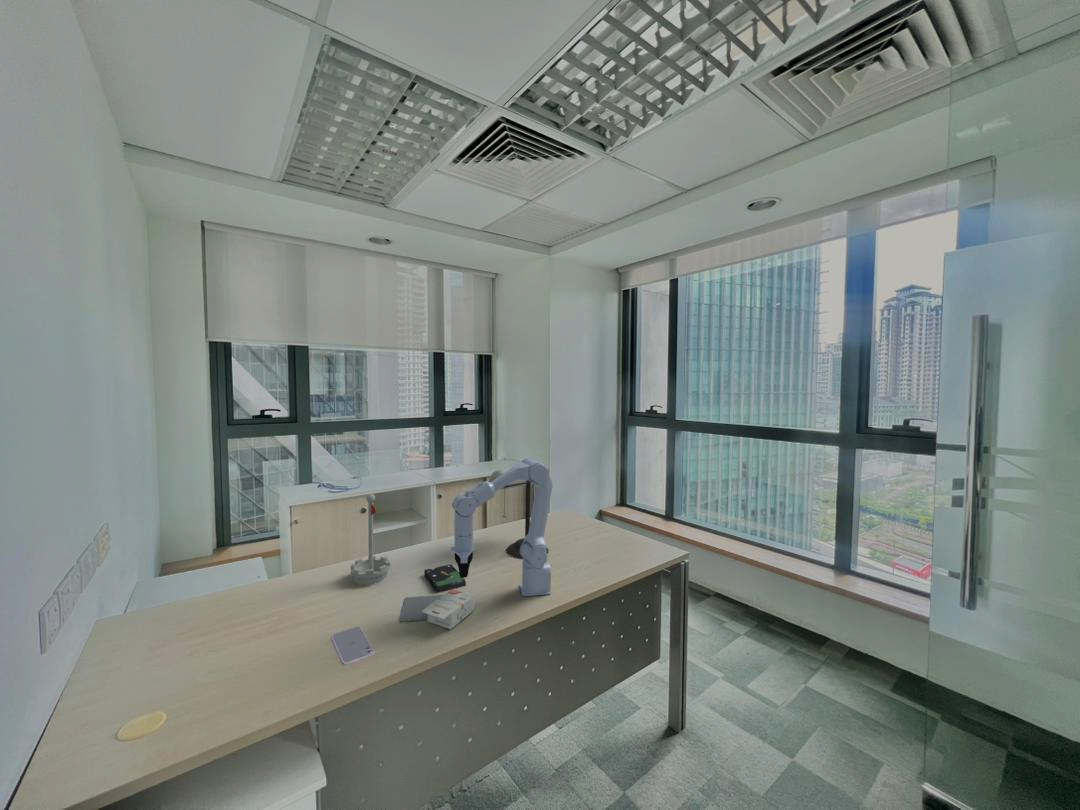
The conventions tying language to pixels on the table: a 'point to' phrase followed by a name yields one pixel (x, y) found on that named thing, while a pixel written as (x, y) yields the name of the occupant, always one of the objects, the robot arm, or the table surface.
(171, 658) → the table surface
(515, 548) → the lamp
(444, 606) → the ink cartridge box
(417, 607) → the mat
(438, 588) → the disk drive
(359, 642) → the mobile phone
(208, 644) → the table surface
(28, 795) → the table surface
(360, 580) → the flag stand
